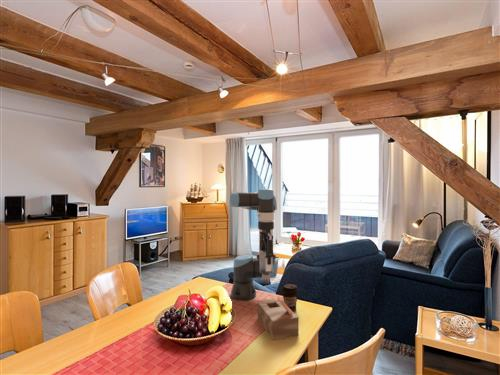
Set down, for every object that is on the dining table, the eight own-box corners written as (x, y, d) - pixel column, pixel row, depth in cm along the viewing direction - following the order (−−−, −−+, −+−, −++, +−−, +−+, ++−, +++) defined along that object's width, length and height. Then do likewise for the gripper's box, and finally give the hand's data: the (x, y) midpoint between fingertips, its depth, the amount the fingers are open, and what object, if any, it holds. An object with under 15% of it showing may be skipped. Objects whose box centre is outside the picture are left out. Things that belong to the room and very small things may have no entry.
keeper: (276, 296, 126) (277, 295, 127) (286, 311, 128) (288, 309, 128) (280, 301, 122) (282, 299, 122) (291, 315, 123) (293, 314, 124)
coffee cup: (299, 314, 142) (299, 289, 142) (283, 314, 142) (283, 289, 142) (297, 306, 151) (296, 283, 150) (281, 306, 151) (281, 283, 151)
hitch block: (258, 318, 138) (257, 302, 138) (280, 314, 141) (280, 299, 141) (273, 340, 119) (273, 321, 119) (298, 335, 122) (298, 317, 122)
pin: (257, 280, 136) (257, 250, 136) (270, 279, 138) (270, 249, 137) (261, 285, 130) (261, 253, 130) (274, 283, 131) (274, 252, 131)
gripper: (253, 218, 142) (253, 263, 142) (264, 224, 123) (265, 275, 123) (267, 218, 144) (267, 262, 144) (280, 223, 125) (280, 274, 125)
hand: (266, 268), depth 134 cm, fingers closed on pin, 6 cm apart
